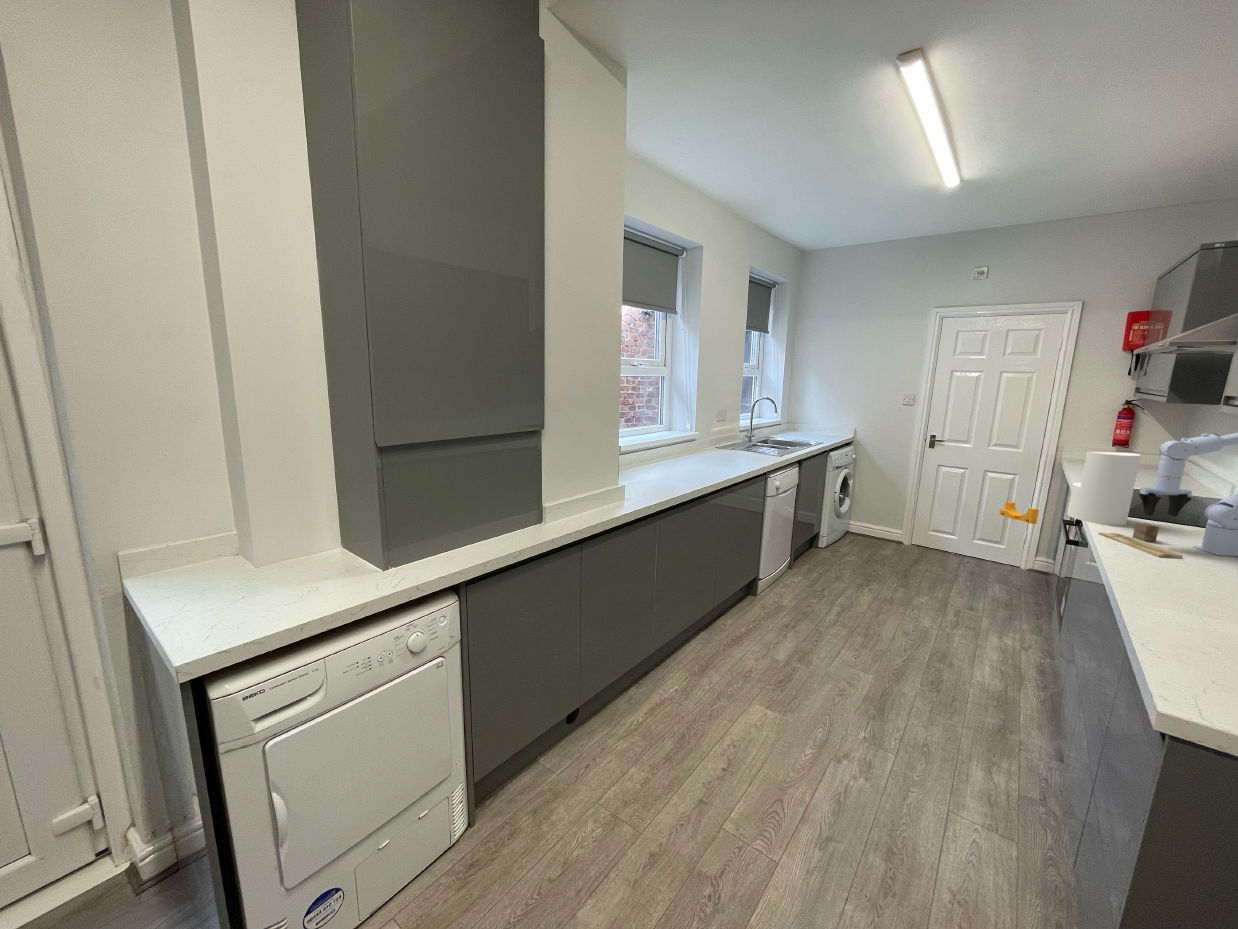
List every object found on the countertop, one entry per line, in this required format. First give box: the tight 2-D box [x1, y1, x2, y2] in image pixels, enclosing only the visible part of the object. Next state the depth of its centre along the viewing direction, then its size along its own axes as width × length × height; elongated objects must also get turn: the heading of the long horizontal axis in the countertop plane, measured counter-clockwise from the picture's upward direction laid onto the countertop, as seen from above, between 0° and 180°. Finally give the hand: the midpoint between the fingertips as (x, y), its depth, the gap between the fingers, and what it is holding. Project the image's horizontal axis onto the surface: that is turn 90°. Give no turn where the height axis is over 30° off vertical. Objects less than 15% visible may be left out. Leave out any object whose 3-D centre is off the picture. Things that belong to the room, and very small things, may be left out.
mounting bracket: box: [999, 501, 1040, 525], centre depth 195 cm, size 12×4×6 cm, turn 7°
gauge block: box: [1132, 522, 1160, 543], centre depth 173 cm, size 4×4×6 cm
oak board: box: [1098, 532, 1184, 559], centre depth 167 cm, size 7×22×1 cm, turn 175°
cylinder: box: [1066, 451, 1142, 526], centre depth 195 cm, size 17×17×28 cm
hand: (1160, 515), depth 168 cm, fingers open, 7 cm apart
